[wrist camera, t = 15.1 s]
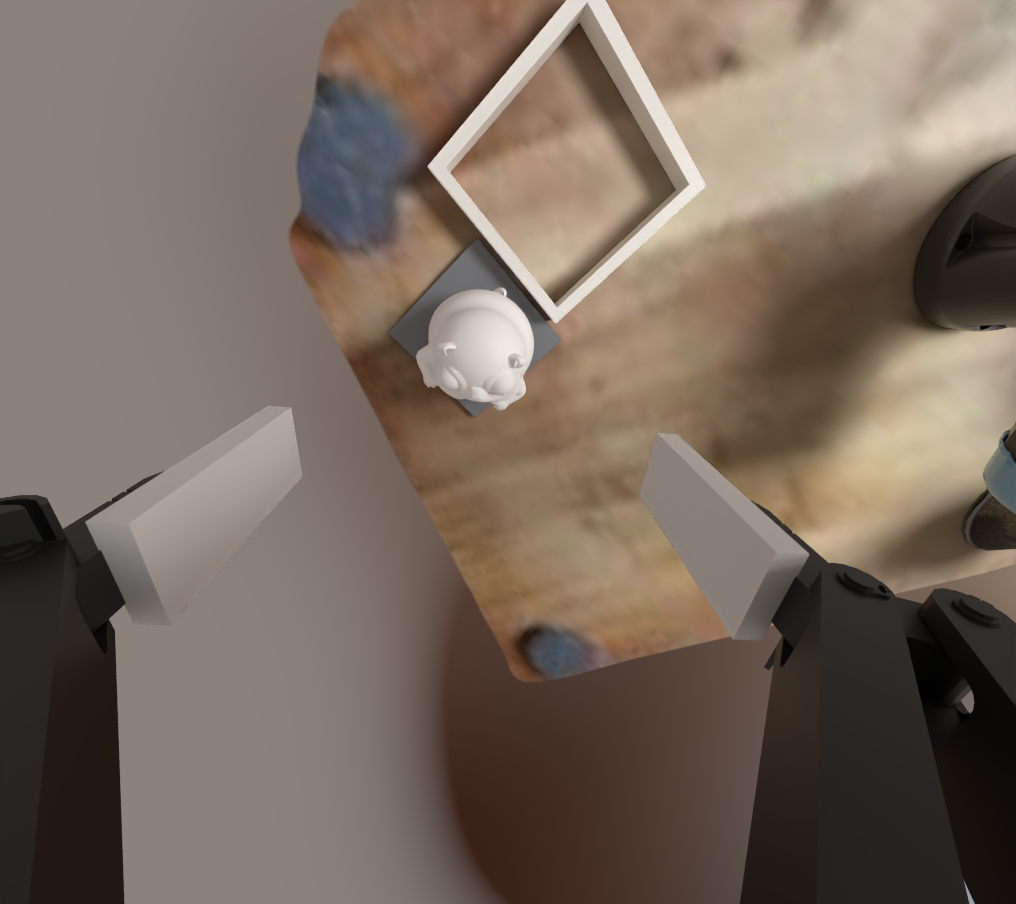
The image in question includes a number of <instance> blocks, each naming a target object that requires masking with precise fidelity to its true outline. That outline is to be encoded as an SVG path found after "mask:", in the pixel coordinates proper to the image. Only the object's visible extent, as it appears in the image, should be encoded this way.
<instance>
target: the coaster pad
mask: <svg viewBox="0 0 1016 904" xmlns="http://www.w3.org/2000/svg"><path fill="white" fill-rule="evenodd" d="M497 288H504V289H505V290H506V297H507V298H508V299H510V300H511V301H513V302H514V303H515V304H516V305H517V306H518V307H519V308H520V309H521V310H522V312H523V313H524V314H525V316H526V318H527V319H528V321H529V323H530V326H531V329H532V332H533V338H534V351H533V356H532V359H531V362H530V365H529V367H528V369H527V370H529V369H530V368H531V367H532V366H533V365H534V364H535V363H536V362H537V361H539V360H540V359H541V358H542V357H543V356H544V355H545V354H546V353H547V352H549V351H550V350H551V349H552V348H553V347H554V346H555V345H556V344H557V343H559V342H560V341H561V339H560V338H559V337H558V335H557V334H556V333H555V332H554V330H553V329H552V328H551V327H550V326H549V324H548V323H547V322H546V321H545V320H544V318H543V317H542V316H541V315H540V314H539V312H538V311H537V310H536V309H535V307H534V306H533V305H532V304H531V303H530V301H529V300H528V299H527V298H526V297H525V295H524V294H523V293H522V292H521V291H520V289H519V288H518V287H517V286H516V284H515V283H514V282H513V281H512V280H511V278H510V277H509V276H508V275H507V274H506V272H505V271H504V270H503V269H502V267H501V266H500V265H499V264H498V263H497V261H496V260H495V259H494V258H493V257H492V255H491V254H490V253H489V252H488V251H487V249H486V248H485V247H484V246H483V244H482V243H481V242H480V241H479V240H478V238H477V239H476V240H475V241H474V242H473V243H472V244H471V245H470V246H469V247H468V248H467V249H466V250H465V251H464V252H463V253H462V255H461V256H460V257H459V258H458V259H457V260H456V261H455V262H454V263H453V264H452V265H451V266H450V267H449V268H448V270H447V271H446V272H445V273H444V274H443V275H442V276H441V277H440V278H439V279H438V280H437V281H436V282H435V283H434V284H433V286H432V287H431V288H430V289H429V290H428V291H427V292H426V293H425V294H424V295H423V296H422V297H421V298H420V299H419V301H418V302H417V303H416V304H415V305H414V306H413V307H412V308H411V309H410V310H409V311H408V312H407V313H406V314H405V315H404V317H403V318H402V319H401V320H400V321H399V322H398V323H397V324H396V325H395V326H394V327H393V328H392V329H391V330H390V332H389V334H390V335H391V336H392V337H393V338H394V339H395V340H396V341H397V342H398V343H399V344H400V345H401V346H402V347H403V348H404V349H405V350H406V351H407V352H408V353H409V354H410V355H411V356H412V357H413V358H414V359H415V360H416V355H417V353H418V351H419V350H420V349H422V348H423V347H425V346H427V345H428V343H429V340H428V332H429V325H430V321H431V318H432V316H433V314H434V312H435V311H436V309H437V308H438V307H439V306H440V304H441V303H443V302H444V301H445V300H446V299H448V298H449V297H451V296H453V295H455V294H457V293H459V292H463V291H467V290H473V289H482V290H489V291H494V290H495V289H497ZM502 295H503V296H504V294H502ZM416 361H417V360H416ZM527 370H526V371H527ZM457 400H458V401H459V402H460V403H461V404H462V405H463V406H464V407H465V408H466V409H467V410H468V411H469V412H470V413H471V414H472V415H473V416H474V417H476V416H477V415H478V414H480V413H481V412H482V411H483V410H484V409H485V408H486V407H487V406H488V405H490V404H491V403H490V402H477V401H471V400H467V399H457Z"/></svg>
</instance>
